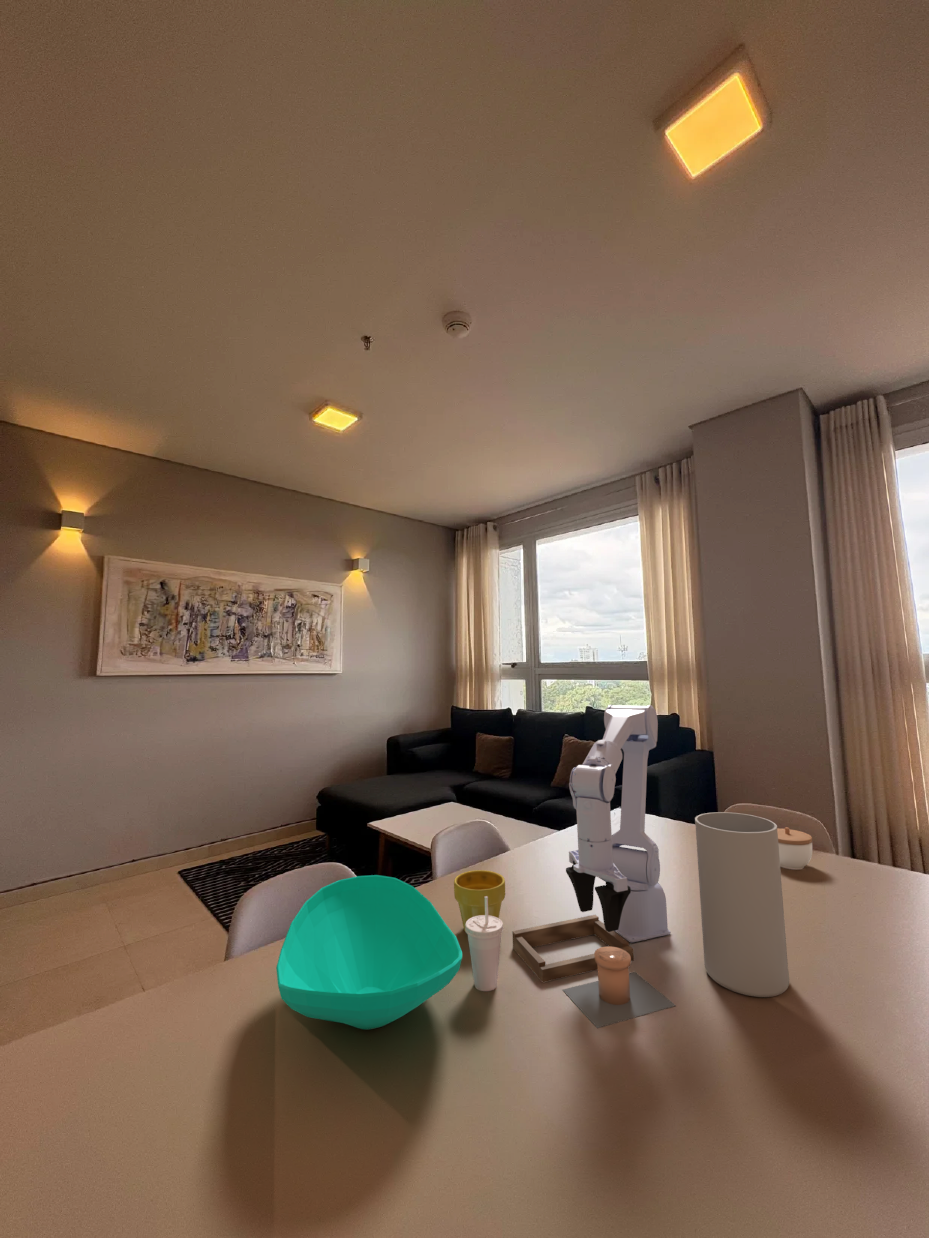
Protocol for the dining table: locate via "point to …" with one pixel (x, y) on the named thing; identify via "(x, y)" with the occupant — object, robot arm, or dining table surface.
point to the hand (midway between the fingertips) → (598, 919)
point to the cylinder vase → (742, 903)
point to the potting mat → (604, 1014)
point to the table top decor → (365, 953)
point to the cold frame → (563, 932)
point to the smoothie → (484, 948)
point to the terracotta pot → (613, 974)
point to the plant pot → (479, 893)
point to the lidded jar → (794, 848)
